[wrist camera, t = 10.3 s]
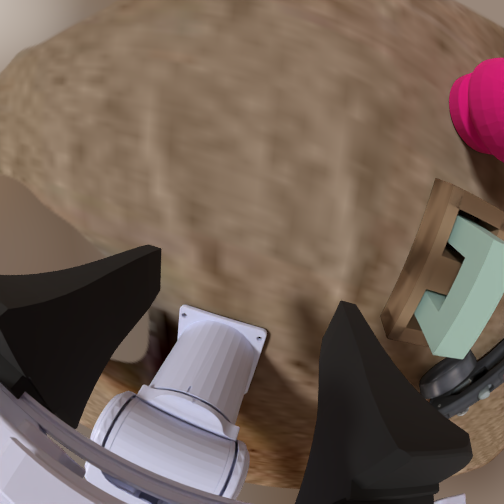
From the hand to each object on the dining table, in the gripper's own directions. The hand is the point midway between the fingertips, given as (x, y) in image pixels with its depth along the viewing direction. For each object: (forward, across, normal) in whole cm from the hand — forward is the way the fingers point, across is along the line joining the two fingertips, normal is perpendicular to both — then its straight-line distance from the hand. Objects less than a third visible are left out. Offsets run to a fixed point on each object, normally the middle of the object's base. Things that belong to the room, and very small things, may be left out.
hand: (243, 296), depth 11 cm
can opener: (+11, -26, +8) cm, 29 cm away
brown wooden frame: (+11, -14, 0) cm, 17 cm away
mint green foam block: (+11, -14, 0) cm, 17 cm away
